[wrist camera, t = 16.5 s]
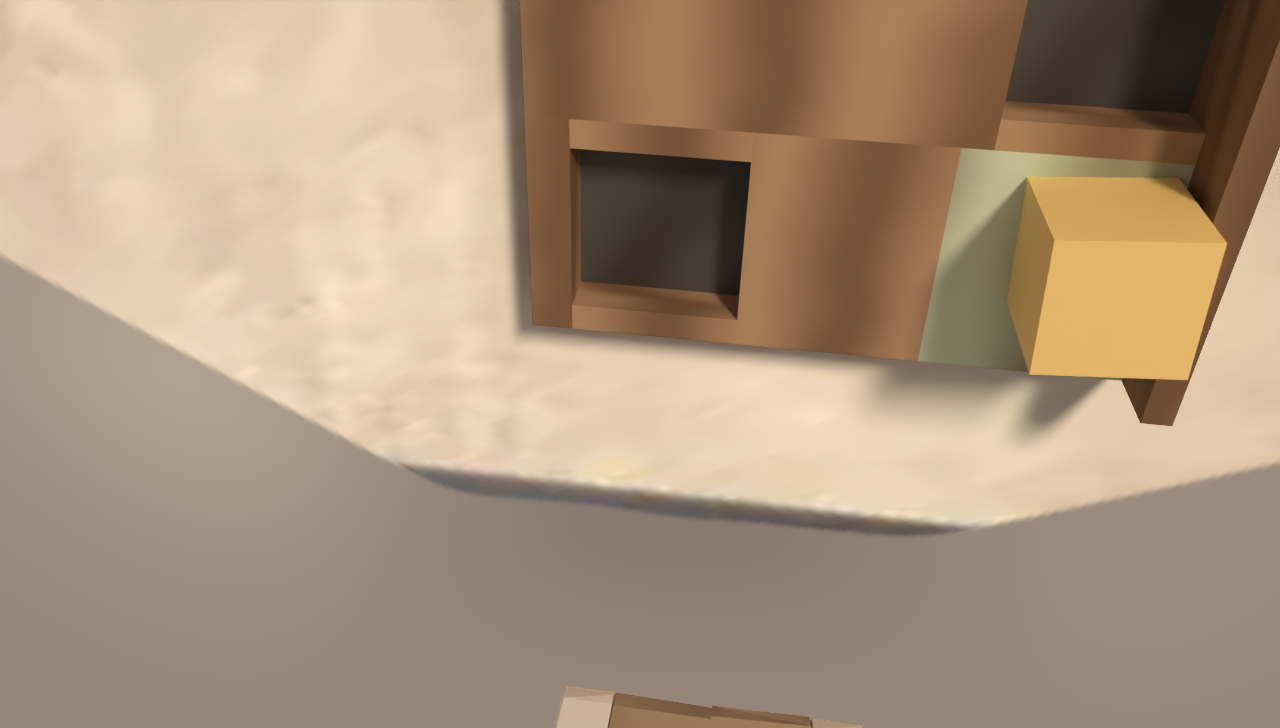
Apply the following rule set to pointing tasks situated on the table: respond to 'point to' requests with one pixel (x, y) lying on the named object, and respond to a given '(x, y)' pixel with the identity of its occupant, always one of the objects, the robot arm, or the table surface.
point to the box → (867, 159)
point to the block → (1112, 277)
